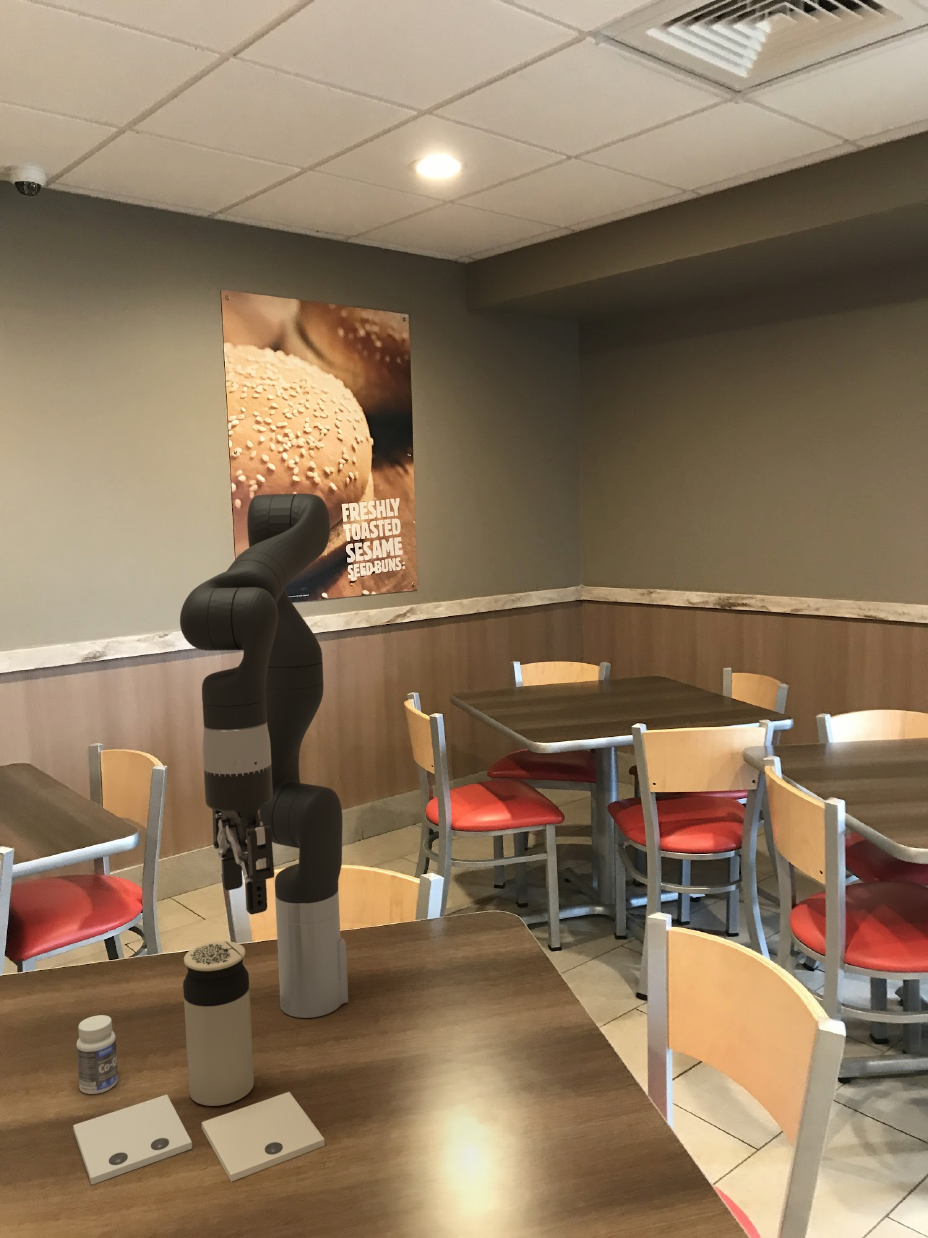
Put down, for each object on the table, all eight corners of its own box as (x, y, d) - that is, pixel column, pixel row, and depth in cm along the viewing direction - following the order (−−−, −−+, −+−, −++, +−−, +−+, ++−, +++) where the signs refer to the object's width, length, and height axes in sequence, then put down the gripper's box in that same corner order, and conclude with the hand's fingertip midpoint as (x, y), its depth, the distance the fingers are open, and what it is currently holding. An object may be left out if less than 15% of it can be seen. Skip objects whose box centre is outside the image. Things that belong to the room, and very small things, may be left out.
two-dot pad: (167, 1100, 120) (166, 1093, 120) (192, 1148, 111) (191, 1141, 110) (73, 1131, 114) (73, 1124, 114) (91, 1185, 105) (91, 1177, 105)
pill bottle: (105, 1097, 121) (100, 1034, 120) (71, 1093, 122) (67, 1031, 121) (125, 1075, 126) (121, 1014, 125) (93, 1072, 127) (89, 1011, 126)
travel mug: (197, 1116, 117) (188, 974, 115) (183, 1082, 124) (175, 948, 122) (261, 1096, 120) (254, 959, 118) (245, 1065, 127) (238, 935, 125)
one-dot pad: (289, 1098, 120) (289, 1091, 120) (324, 1145, 111) (324, 1138, 110) (201, 1128, 114) (201, 1121, 114) (231, 1182, 105) (230, 1174, 105)
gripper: (291, 770, 105) (298, 913, 107) (248, 746, 117) (255, 874, 119) (224, 782, 101) (232, 929, 103) (187, 755, 113) (194, 887, 115)
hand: (244, 900), depth 111 cm, fingers open, 8 cm apart
